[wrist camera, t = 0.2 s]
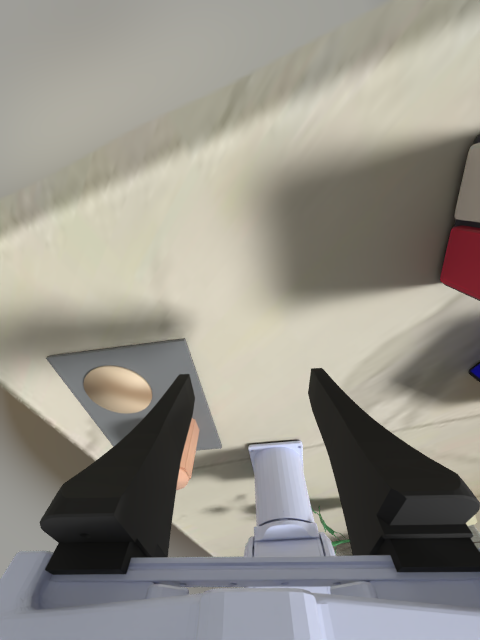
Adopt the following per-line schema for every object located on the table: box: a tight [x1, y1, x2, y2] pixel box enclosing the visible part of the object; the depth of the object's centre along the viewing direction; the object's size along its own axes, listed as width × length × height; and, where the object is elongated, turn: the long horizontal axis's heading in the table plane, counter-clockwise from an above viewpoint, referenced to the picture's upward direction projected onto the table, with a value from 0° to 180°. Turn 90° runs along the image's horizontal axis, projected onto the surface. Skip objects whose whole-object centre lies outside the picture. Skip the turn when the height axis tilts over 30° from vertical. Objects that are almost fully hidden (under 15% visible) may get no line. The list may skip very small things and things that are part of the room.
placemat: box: [46, 339, 222, 450], centre depth 29 cm, size 20×16×1 cm
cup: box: [176, 418, 199, 490], centre depth 28 cm, size 6×6×6 cm
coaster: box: [83, 365, 152, 414], centre depth 27 cm, size 8×8×1 cm
